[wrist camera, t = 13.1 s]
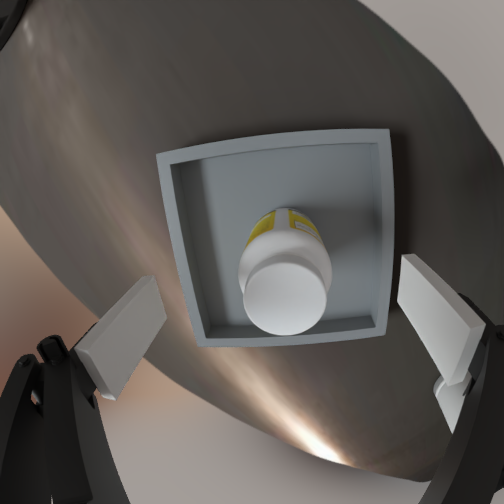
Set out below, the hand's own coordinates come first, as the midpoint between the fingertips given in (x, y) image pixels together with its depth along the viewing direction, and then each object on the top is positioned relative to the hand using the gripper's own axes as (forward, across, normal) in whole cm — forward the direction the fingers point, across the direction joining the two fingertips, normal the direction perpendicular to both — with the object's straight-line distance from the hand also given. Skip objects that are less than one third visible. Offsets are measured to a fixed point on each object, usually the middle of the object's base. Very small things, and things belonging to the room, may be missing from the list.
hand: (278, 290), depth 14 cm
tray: (+10, 0, 0) cm, 10 cm away
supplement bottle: (+9, 0, 0) cm, 9 cm away
